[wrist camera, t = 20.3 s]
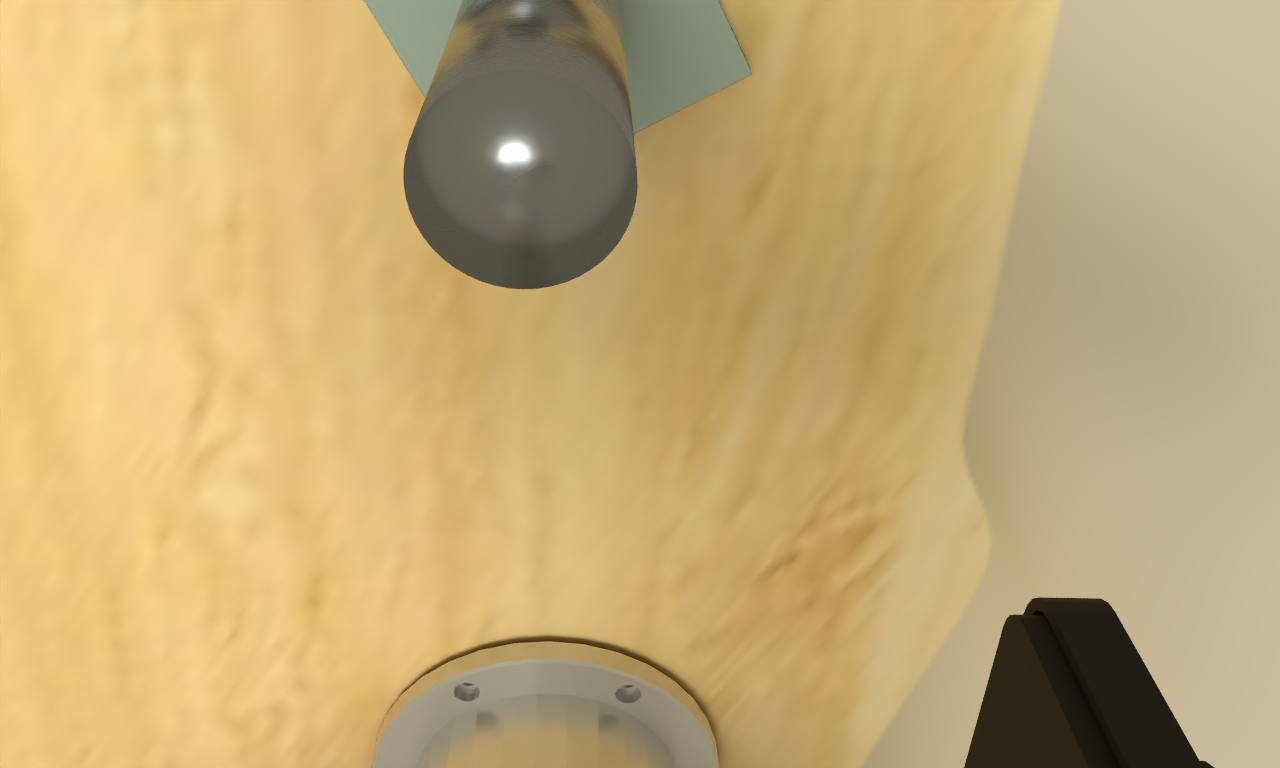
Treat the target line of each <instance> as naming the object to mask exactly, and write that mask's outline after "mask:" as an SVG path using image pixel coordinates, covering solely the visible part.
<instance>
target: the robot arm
mask: <svg viewBox="0 0 1280 768" xmlns="http://www.w3.org/2000/svg"><path fill="white" fill-rule="evenodd" d="M371 768H719V763H718V755H717V747H716V740H715V738H714V735H713V732H712V730H711V727H710V724H709V722H708V719H707V717H706V716H705V715H704V713H703V712H702V710H701V709H700V707H699V706H698V705H697V703H696V702H695V700H694V699H693V698H692V697H691V696H690V695H689V694H688V693H687V692H686V691H685V690H684V689H682V688H681V687H680V686H679V685H678V684H677V683H676V682H675V681H674V680H673V679H671V678H669V677H668V676H666V675H664V674H663V673H661V672H659V671H658V670H656V669H655V668H653V667H651V666H650V665H648V664H646V663H644V662H641V661H639V660H636V659H634V658H631V657H629V656H626V655H624V654H621V653H619V652H615V651H611V650H606V649H602V648H598V647H594V646H589V645H585V644H575V643H563V642H551V641H546V642H528V643H513V644H508V645H503V646H498V647H493V648H488V649H483V650H479V651H476V652H474V653H471V654H468V655H465V656H463V657H460V658H457V659H454V660H452V661H449V662H447V663H446V664H444V665H442V666H440V667H439V668H437V669H435V670H433V671H431V672H430V673H428V674H426V675H424V676H423V677H422V678H420V679H419V680H418V681H417V682H416V683H415V684H413V685H412V686H411V687H410V688H409V689H408V690H406V691H405V692H404V693H403V694H402V695H401V696H400V697H399V699H398V700H397V701H396V703H395V704H394V705H393V707H392V708H391V709H390V711H389V712H388V713H387V715H386V717H385V719H384V721H383V724H382V726H381V729H380V731H379V734H378V736H377V740H376V746H375V751H374V756H373V761H372V765H371ZM964 768H1214V767H1213V766H1211V765H1210V764H1209V763H1207V762H1206V761H1199V759H1198V758H1197V756H1196V754H1195V752H1194V750H1193V749H1192V747H1191V745H1190V743H1189V742H1188V740H1187V738H1186V736H1185V735H1184V733H1183V731H1182V729H1181V727H1180V726H1179V724H1178V722H1177V720H1176V719H1175V717H1174V715H1173V713H1172V712H1171V710H1170V708H1169V706H1168V704H1167V703H1166V701H1165V699H1164V697H1163V696H1162V694H1161V692H1160V690H1159V689H1158V687H1157V685H1156V683H1155V681H1154V680H1153V678H1152V676H1151V674H1150V673H1149V671H1148V669H1147V668H1146V666H1145V664H1144V662H1143V661H1142V659H1141V657H1140V655H1139V653H1138V652H1137V650H1136V648H1135V646H1134V645H1133V643H1132V641H1131V639H1130V637H1129V636H1128V634H1127V632H1126V630H1125V629H1124V627H1123V625H1122V624H1121V622H1120V620H1119V618H1118V616H1117V614H1116V613H1115V611H1114V610H1113V608H1112V607H1111V606H1110V604H1109V603H1108V602H1106V601H1104V600H1102V599H1088V598H1087V599H1086V598H1085V599H1084V598H1034V599H1032V600H1031V601H1030V603H1029V604H1028V605H1027V607H1026V610H1025V612H1024V614H1023V615H1010V616H1009V617H1008V618H1007V619H1006V621H1005V624H1004V626H1003V630H1002V633H1001V637H1000V641H999V644H998V648H997V651H996V655H995V659H994V663H993V666H992V669H991V673H990V677H989V680H988V684H987V687H986V691H985V695H984V698H983V702H982V706H981V709H980V713H979V716H978V720H977V724H976V727H975V731H974V734H973V738H972V741H971V745H970V749H969V752H968V756H967V759H966V763H965V767H964Z"/></svg>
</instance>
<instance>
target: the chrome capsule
mask: <svg viewBox="0 0 1280 768" xmlns="http://www.w3.org/2000/svg"><path fill="white" fill-rule="evenodd" d="M404 188H405V195H406V200H407V203H408V206H409V210H410V213H411V215H412V217H413V219H414V222H415V224H416V226H417V227H418V229H419V231H420V232H421V234H422V236H423V237H424V238H425V240H426V241H427V242H428V243H429V245H430V246H431V247H432V248H433V249H434V250H435V251H436V252H437V253H438V254H439V255H440V256H441V257H442V258H443V259H444V260H445V261H447V262H448V263H449V264H451V265H452V266H453V267H455V268H456V269H458V270H460V271H461V272H463V273H465V274H466V275H468V276H470V277H473V278H475V279H477V280H480V281H482V282H485V283H489V284H492V285H495V286H501V287H506V288H515V289H536V288H543V287H549V286H554V285H557V284H561V283H564V282H567V281H569V280H572V279H574V278H576V277H579V276H581V275H582V274H584V273H586V272H587V271H589V270H591V269H592V268H593V267H595V266H596V265H597V264H599V263H600V262H601V261H602V260H603V259H604V258H605V257H606V256H607V255H608V254H609V253H610V252H611V251H612V250H613V249H614V248H615V246H616V245H617V244H618V242H619V241H620V240H621V238H622V236H623V235H624V233H625V231H626V229H627V227H628V225H629V222H630V220H631V217H632V215H633V211H634V207H635V203H636V196H637V169H636V158H635V147H634V136H633V125H632V115H631V104H630V93H629V82H628V71H627V61H626V50H625V39H624V28H623V17H622V7H621V0H463V1H462V3H461V6H460V8H459V11H458V14H457V16H456V19H455V22H454V24H453V27H452V30H451V32H450V35H449V38H448V40H447V43H446V45H445V48H444V51H443V53H442V56H441V59H440V61H439V64H438V67H437V69H436V72H435V74H434V77H433V80H432V82H431V85H430V88H429V90H428V93H427V96H426V98H425V101H424V103H423V106H422V109H421V111H420V114H419V117H418V119H417V122H416V125H415V127H414V130H413V133H412V135H411V138H410V140H409V144H408V148H407V151H406V155H405V162H404Z"/></svg>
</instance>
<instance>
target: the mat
mask: <svg viewBox="0 0 1280 768" xmlns="http://www.w3.org/2000/svg"><path fill="white" fill-rule="evenodd" d="M364 1H365V3H366V5H367V6H368V8H369V9H370V11H371V13H372V14H373V16H374V17H375V19H376V21H377V22H378V24H379V25H380V27H381V29H382V30H383V32H384V33H385V35H386V37H387V38H388V40H389V41H390V43H391V45H392V46H393V48H394V49H395V51H396V53H397V54H398V56H399V57H400V59H401V61H402V62H403V64H404V65H405V67H406V69H407V70H408V72H409V73H410V75H411V77H412V78H413V80H414V81H415V83H416V85H417V86H418V88H419V89H420V91H421V93H422V94H423V96H424V97H425V98H426V96H427V93H428V90H429V88H430V85H431V82H432V80H433V77H434V74H435V72H436V69H437V67H438V64H439V61H440V59H441V56H442V53H443V51H444V48H445V45H446V43H447V40H448V38H449V35H450V32H451V30H452V27H453V24H454V22H455V19H456V16H457V14H458V11H459V8H460V6H461V3H462V1H463V0H364ZM621 7H622V17H623V28H624V39H625V50H626V61H627V71H628V82H629V93H630V104H631V115H632V125H633V134H634V133H636V132H638V131H640V130H642V129H644V128H646V127H648V126H650V125H652V124H654V123H656V122H658V121H660V120H662V119H664V118H666V117H667V116H669V115H671V114H673V113H675V112H677V111H679V110H681V109H683V108H685V107H687V106H689V105H691V104H693V103H695V102H697V101H699V100H701V99H703V98H705V97H707V96H709V95H711V94H713V93H715V92H717V91H719V90H721V89H723V88H725V87H727V86H729V85H731V84H733V83H735V82H737V81H739V80H741V79H743V78H745V77H747V76H749V75H751V74H752V73H751V70H750V68H749V65H748V63H747V61H746V59H745V57H744V55H743V52H742V50H741V48H740V46H739V44H738V42H737V39H736V37H735V35H734V33H733V31H732V29H731V27H730V24H729V22H728V20H727V18H726V16H725V14H724V11H723V9H722V7H721V5H720V3H719V1H718V0H621Z"/></svg>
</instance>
